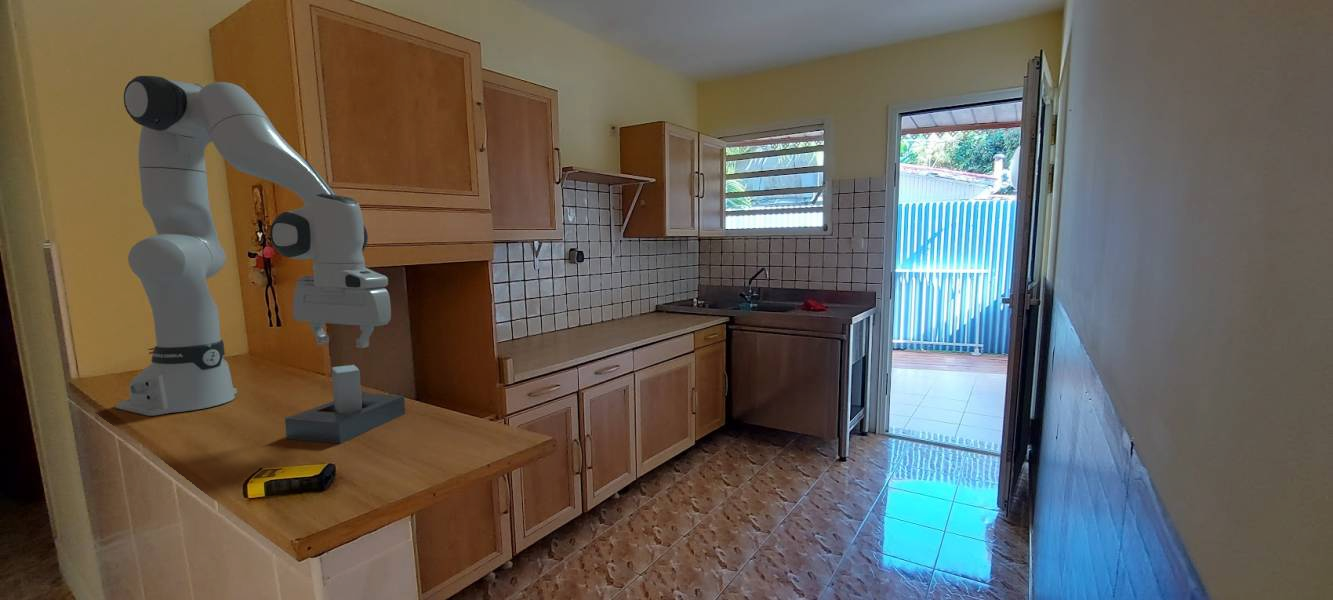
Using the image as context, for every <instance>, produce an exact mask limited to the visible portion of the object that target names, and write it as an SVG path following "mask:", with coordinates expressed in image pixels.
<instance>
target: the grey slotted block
mask: <svg viewBox="0 0 1333 600" xmlns="http://www.w3.org/2000/svg"><path fill="white" fill-rule="evenodd" d="M361 400H362V409H361V410H359V411H356V412H354V413H351V414H346V413H335V405H334V400H332V401H329V402H327V403H324V404H321V405H318V406H316V407H315V406H314V407H313V408H310V409H307V410H304V411H302V412H299V413H296V414H294V415H291V416H289V417H284V424H285V436H286V437H285V438H286V439H288V440H296V441H305V442H306V441H310V442H317V443H329V444H338V445H339V444H343V443H345V442H347V441H349V440H351V439H354V438H356V437H358V436H361V435H362V434H364V433H367V432H369V431H371V430H373V429H375V428H378V427H379V426H381V425H384V424H385V423H388V422H391V421H392V420H395V419H396V418H397V419H398V418H399V417H401V416H403V415H405V414H406V407H405V406H406V405H405V395H398V394H386V393H385V394H384V393H371V392H369V393H367V392H361Z"/></svg>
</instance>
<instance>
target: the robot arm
mask: <svg viewBox="0 0 1333 600" xmlns="http://www.w3.org/2000/svg"><path fill="white" fill-rule="evenodd" d="M123 105H124V108H125V110H126V112H127V114H128V115H129V116H130V118H131V119H132V120H133V121H134V122H135V123H136V124H138V125H140V126H141V130H140V134H139V141H138V142H139V143H138V168H139V169H138V170H139V180H140V191H141V200H142V205H143V207H144V209H145V210H146V212H147V214H149V216H150V220H151V221H152V223H153V226H154V229H155V232H156V234H154V235H151V236H149V237H145V238H144V239H142V240H139V241H138V242H136V243H134V244H133V246H132V248H131V249H130V251H129V252H128V256H127V257H128V258H127V260H128V261H127V262H128V265H129V266H128V267H130V270H131V271H132V272H133V273H134V274H135V276H137V277H138V278H139V280H140V281H141V285H142V286H143V289H144V291H145V295H146V296H147V299H148V302H149V305H150V308H151V311H152V316H153V322H154V323H153V325H154V331H155V343H156V345H155V347H154V348H153V347H152V348H148V349H147V350H148V351H150V352H148V353H147V354H148V355H152V356H151V363H150V364H149V365H148V366H147V367H145V369H143V370H142V371H141V372H140V373H138V374H137V375H136V376H134V377H133V378H132V379H131V381H130V383H129V398H128V399H124V400H121V401H119V402H117V403H116V404H115V408H116V409H119V410H123V411H127V412H132V413H136V414H140V415H145V416H149V417H152V416H153V417H154V416H160V415H165V414H171V413H181V412H189V411H197V410H201V409H207V408H211V407H216V406H219V405H222V404H225V403H228V402H230V401H232V400H234V399H235V398H236V396H235V395H236V394H237V393H238V390H237V389H238V388H236V387H234V386H233V382H232V376H231V371H230V367H229V363H228V362H227V360H225V359H224V357H223V356H225V355H226V354H225V352H226V351H225V349H226V348H225V344H224V340H223V339H222V338H221V325H220V315H219V308H218V305H217V304H216V303H215V301H214V299H213V297H212V294H211V293H210V290H209V286H208V283H207V279H210V278H212V277H214V276H215V275H216V274H218V273H220V271H221V270H222V269H223V267H224V266H225V264H226V260H227V255H226V252H225V250H224V248H223V246H222V245H221V242H220V240H219V235H218V232H217V229H216V225H215V222H214V218H213V216H212V211H211V207H210V206H211V205H210V195H209V186H208V185H209V184H208V175H207V166H206V165H207V164H206V158H205V151H206V147H207V146H208V145H209V144H210V143H213V145H214V146H215V148H216V150H217V151H218V153H219V154H220V156H221V157H222V158H223V159H224V160H225V161H226V162H227V163H228V164H229V165H230V166H231V167H233V168H234V169H236V170H237V171H239V172H242V173H244V174H247V175H249V176H252V177H256V178H259V179H261V180H265V181H268V182H272V183H275V184H276V185H279V186H282V187H284V188H285V189H288V190H290V191H291V192H293V193H294V194H296V195H297V196H298V197H299V198H300V199H301V200H302V202H303V203H304V205H303V206H301V207H299V208H296V209H293V210H289V211H283V212H281V213H280V214H278V215H277V216H276V217H275V218H274V220H273V221H272V223H271V225H270V231H269V232H270V233H269V235H270V241H271V243H272V246H273V248H274V249H275V250H276V251H277V253H278V254H280V255H281V256H283V257H285V258H289V259H294V260H295V259H296V260H313V261H312V266H313V267H312V268H313V275H311V276H310V275H302V276H300V277H299V278H298V279H297V281H295V289H294V293H293V303H292V316H293V318H294V319H295V321H297V322H302V323H303V322H307V323H309V327H310V328H309V329H310V330H311V331H312V333H313V335H314V336H315V343H316V345H322V346H323V345H328V344H329V343H330V335H329V334H326V332H325V330H324V328H323V327H324V326H325V324H335V325H350V326H359V331H360V332H361V335H360V336H359V338H355V343H356V344H355V346H356V347H357V348H360V349H361V348H362V349H363V348H365V349H366V348H368V347H369V345H370V337H371V336H372V334H373V332H374V329H375V327H381V326H386V325H388V323H389V322H390V321H391V319H392V308H391V307H392V306H391V297H390V293H389V291H388V290H387V289H386V287H387V286H388V285H389V278H388V277H387V276H386V275H384V274H381V273H379V272H377V271H374V270H372V269H370V268H367V267H366V261H365V257H364V254H363V253H364V251H365V249H366V248H367V244H368V239H369V236H368V235H369V234H368V231H367V230H368V229H367V228H366V226H365V224H364V219H363V217H364V216H363V213H362V210H361V209H362V208H361V206H360V203H359V202H358V201H356V199H354V198H351V197H348V196H343V195H337V194H336V193H335V192H334V191H333V190H332V188H331V187H330V186H329V185H328V183H327V182H326V181H325V180H324V178H323V177H322V176H321V175H320V173H319V172H318V171H317V170H316V169H315V167H314V166H313V165H312V164H311V163H310V162H309V161H308V160H306V159H305V158H304V157H303V156H302V155H300V154H299V153H298V152H297V151H296V150H295V149H294V148H293V147H292V146H291V145H290V144H289V143H288V142H287V141H286V140H285V139H284V138H283V137H282V135H281V134H280V133H279V132H278V131H277V129H276V128H275V126H274V125H273V123H272V122H271V120H270V118H269V117H268V115H267V114H266V113H265V112H264V110H263V108H261V106H260V105H259V104H258V102H257V101H256V100H255V99H254V98H253V97H252V96H251V95H250V94H249V93H248V92H247V91H246V90H245V89H244V88H242V87H241V86H239V85H238V84H234V83H231V82H226V81H218V82H217V81H216V82H211V83H208V84H207V85H202V84H199V83H190V82H186V81H180V80H174V79H168V78H167V79H166V78H164V77H161V76H155V75H138V76H136V77H134V78H132V79H131V80H130V81H129V82H128V83H127V85H126V86H125V88H124V92H123ZM152 350H153V351H152Z"/></svg>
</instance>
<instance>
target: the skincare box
mask: <svg viewBox="0 0 1333 600" xmlns="http://www.w3.org/2000/svg"><path fill="white" fill-rule="evenodd" d="M331 373H332V374H331V375H332V376H331V378H332V389H333V391H332V392H333V401H334V405H335V413H346V414H351V413H354V412H356V411H359V410H361V409H362V400H361V393H362V386H361V373H360V370H359V368H358V367H357V366H356V365H355V364H348V365H342V366H341V365H340V366H339V365H338V366H334V367H333V366H332V367H331Z"/></svg>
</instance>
